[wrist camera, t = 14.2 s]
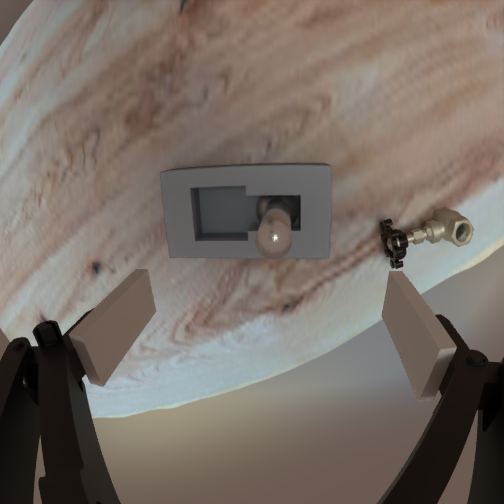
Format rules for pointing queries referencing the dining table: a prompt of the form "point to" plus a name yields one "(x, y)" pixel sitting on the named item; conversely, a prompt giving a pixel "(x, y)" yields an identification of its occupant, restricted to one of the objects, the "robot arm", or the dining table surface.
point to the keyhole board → (243, 208)
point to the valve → (426, 234)
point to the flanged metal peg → (275, 224)
